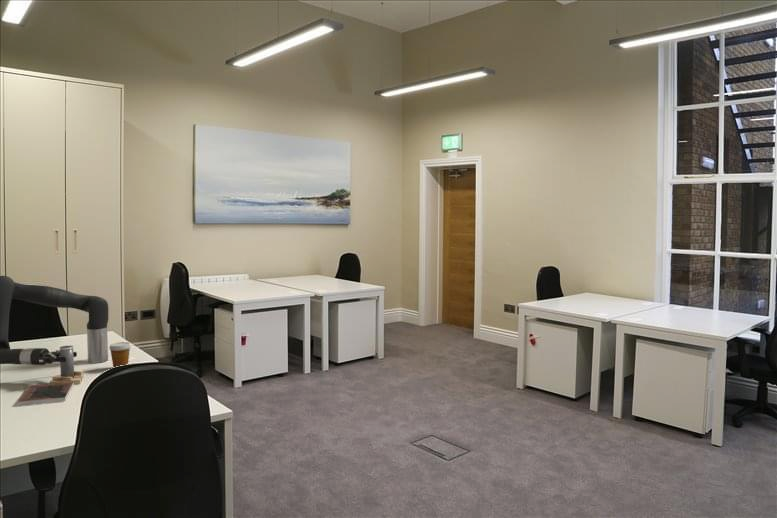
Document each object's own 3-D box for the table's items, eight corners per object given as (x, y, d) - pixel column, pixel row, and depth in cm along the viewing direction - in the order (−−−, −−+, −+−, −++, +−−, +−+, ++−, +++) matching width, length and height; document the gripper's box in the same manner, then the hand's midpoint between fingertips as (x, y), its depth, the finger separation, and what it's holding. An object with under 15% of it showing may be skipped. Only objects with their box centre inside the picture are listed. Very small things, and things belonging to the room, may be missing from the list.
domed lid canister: (61, 376, 250) (60, 346, 249) (75, 375, 252) (74, 345, 251) (59, 379, 245) (58, 348, 244) (73, 378, 247) (72, 347, 246)
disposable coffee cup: (107, 371, 266) (107, 346, 265) (112, 366, 275) (111, 342, 274) (129, 370, 268) (128, 345, 267) (132, 365, 277) (132, 341, 276)
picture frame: (65, 402, 223) (73, 387, 243) (65, 396, 223) (73, 381, 243) (17, 407, 217) (29, 391, 237) (17, 401, 217) (29, 385, 237)
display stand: (56, 379, 252) (56, 371, 252) (83, 377, 256) (83, 369, 256) (51, 387, 241) (50, 379, 241) (79, 384, 245) (79, 376, 245)
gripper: (24, 352, 240) (61, 352, 240) (43, 344, 254) (79, 344, 255) (24, 369, 241) (62, 369, 241) (44, 360, 255) (80, 360, 255)
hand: (71, 356), depth 248 cm, fingers open, 8 cm apart
